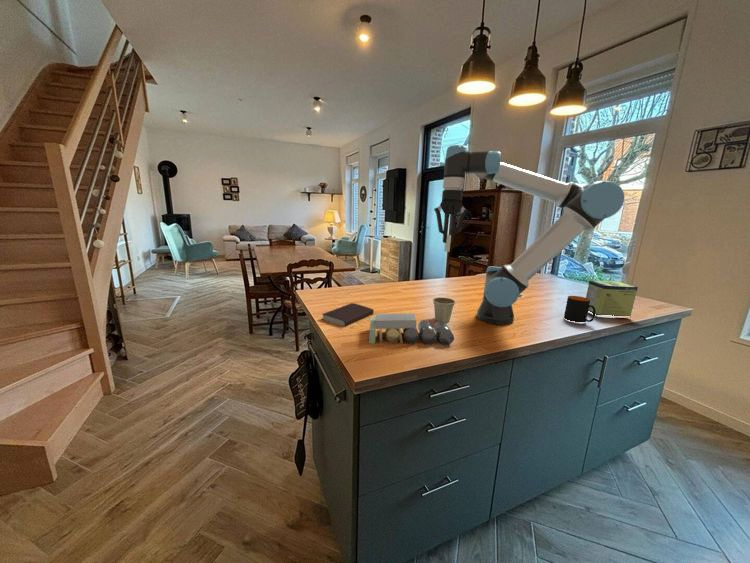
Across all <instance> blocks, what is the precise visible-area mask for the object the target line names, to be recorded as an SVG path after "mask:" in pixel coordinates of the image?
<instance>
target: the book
mask: <svg viewBox="0 0 750 563" xmlns="http://www.w3.org/2000/svg"><path fill="white" fill-rule="evenodd" d="M374 311H375V310H374V309H373V308H371V307H369V306H366V305H361V304H357V303H354V302H353V303H348V304H345V305H343V306H340V307H338V308H334V309H333V310H329V311H326V312H324V313H322V319H321V320H322V321H325V320H326V322H328V321H329V323H332V324H335V325H339V326H341V327H344V328H345V327H348V326H350V325H352V324H354V323H357V322H359V321H361V320H363V319H365V318H368V317H372V315H373V316H374Z"/></svg>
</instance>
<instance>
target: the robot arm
mask: <svg viewBox="0 0 750 563" xmlns="http://www.w3.org/2000/svg"><path fill="white" fill-rule="evenodd" d="M501 157H502V153H501V152H500V151H498V150H497V151H495V150H494V151H493V150H490V151H489V150H486V151H468V147H467V146H466V145H464V144H463V145H462V144H461V145H460V144H454V145H450V146H448V147H447V148H446V153H445V159H444V172H443V173H444V174H443V184H442V189H443V190H442V194H441V202H440V204H439V205H438V206H437V207H434V208H433V211H434V213H435V214H436V221H437V228H438V233H439V234H442V243H443V244H444V250H443V251H444V252H446V253H450V250H451V244H453V243H454V236H455V235H457V234H459V233H460V230H461V228H462V224H463V222H464V218H465V215H467V213H468V212H469V209H467V208H465V207H464V206H463V193H464V192H463V189H464V182H465V174H467V175H468V174H475V176H476V178H479V179H482V180H484V179H485V180H488V181H491V182H494V183H497V184H500V185H503V186H506V187H509V188H511V189H514V190H517V191H519V192H520V191H521V192H523V193H526V194H528V195H530V196H531V195H532V196H535V197H537V198H540V199H544V200H545V201H549V202H552V203H555V205H556V207H557V208H561V209H562V210H563V214H562V215H561V216H560V217H559V218H558V219H557V220H556V221H555V222H553V224H551V226H550V227H548V228H547V229H546V230H545V231H544V232H543V233H542V234H541V235H540V236H539V237H538V238H536V240H535V241H534V242H532V244H530V246H528V247H527V249H525V250H524V251H523V252H522V253H521V254H520V255H519V256H518V257H517V258H516V259H515V260H514V261H513V262H511V263H510V264H504V265H502V266H490V265H489V266H487V268H486V271H485V282H484V288H483V297H482V301H481V303H480V305H479V306H478V309H477V311H476V317H477V319H479V320H480V321H482V322H484V323H485V322H486V323H487V324H488V323H489V324H493V325H501V326H502V325H503V326H504V325H505V326H506V325H511V324H513V323H514V321H515V313H514V310H513V304H516V301H517V300H518V299H519V297H520V295H521V294H522V293H523V292H524V291H525V290H526V289H527V288H528V287H529V282H530V280H531V279H533V277H534V276H535V275H536V274H537V273H539V272H540V271H541V270H542V269H544V267H545V266H546V265H548V264H549V263H551V261H552V260H553V259H554V258H555V257H557V256H558V254H560V253H561V252H562V251H564V249H565V248H566V247H567V246H569V245H570V244H571V243H572V242H574V240H575V239H577V238H578V236H580V235H581V234H583V232H584V231H591V230H594V229H595V228H596V227H597V226H598V225H599V224H600V223H602V222H603V221H604V220H605V219H608V218H610V217H612V216H614V215H616V214H617V213H618V212H619V211H620V210H621V208H622V207H623V205H624V203H625V193H624V192H625V191H624V189H623V188H622V187H621V186H620V185H619V184H617V183H616V182H614V181H611V180H598V181H593V182H591V183H590V184H583V183H576V182H573V181H570V182H563V181H561V180H556V179H553V178H551V177H548V176H544V175H542V174H539V173H535V172H533V171H530V170H526V169H522V168H520V167H517V166H514V165H511V164H507V163H505V162H501V159H502V158H501ZM441 212H443V214H444V221H443V222H442V214H441ZM459 212H460V214H459V216H458V219H457V223H456V218H457V214H458V213H459ZM449 222H450V224H449ZM449 225H450V226H449ZM448 233H449V234H448Z"/></svg>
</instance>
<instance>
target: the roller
mask: <svg viewBox="0 0 750 563" xmlns="http://www.w3.org/2000/svg"><path fill="white" fill-rule="evenodd" d="M384 330H385V339H386V341H387V342H388V343H390V344H397V343H398V342H400V340H399V339H400V333H399V329H384Z"/></svg>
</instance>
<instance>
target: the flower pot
mask: <svg viewBox="0 0 750 563" xmlns="http://www.w3.org/2000/svg"><path fill="white" fill-rule="evenodd" d="M432 302H433V306H434V309H433V310H434V319H435V321H436V322H438V321H444V322H445V323H448V322H450V320H451V317H452V312H453V308H454V306H455V304H456V300H455V299H452V298H449V297H441V296H440V297H434V298H432Z"/></svg>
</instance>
